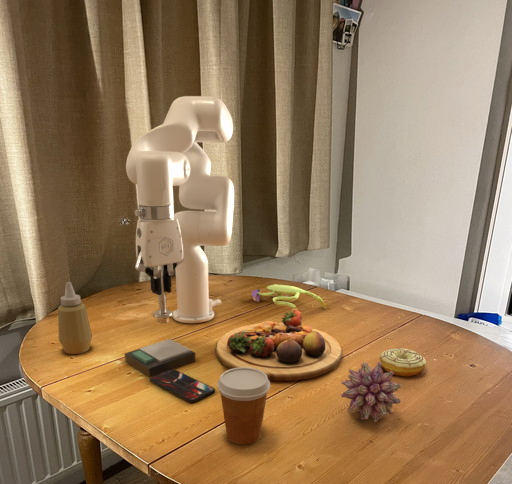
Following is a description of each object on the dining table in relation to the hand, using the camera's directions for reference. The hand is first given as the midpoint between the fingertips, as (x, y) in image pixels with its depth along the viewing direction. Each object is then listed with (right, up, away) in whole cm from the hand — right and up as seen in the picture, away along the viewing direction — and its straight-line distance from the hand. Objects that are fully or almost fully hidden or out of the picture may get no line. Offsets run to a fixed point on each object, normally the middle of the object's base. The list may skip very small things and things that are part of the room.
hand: (161, 291), depth 117 cm
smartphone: (+6, -22, -6) cm, 23 cm away
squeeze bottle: (-24, -14, +11) cm, 30 cm away
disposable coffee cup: (+20, -29, -23) cm, 42 cm away
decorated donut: (+57, -18, +4) cm, 60 cm away
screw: (0, -7, +3) cm, 8 cm away
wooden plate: (+28, -15, +11) cm, 34 cm away
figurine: (+32, -1, +47) cm, 57 cm away
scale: (-1, -17, +6) cm, 18 cm away
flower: (+45, -26, -16) cm, 54 cm away
